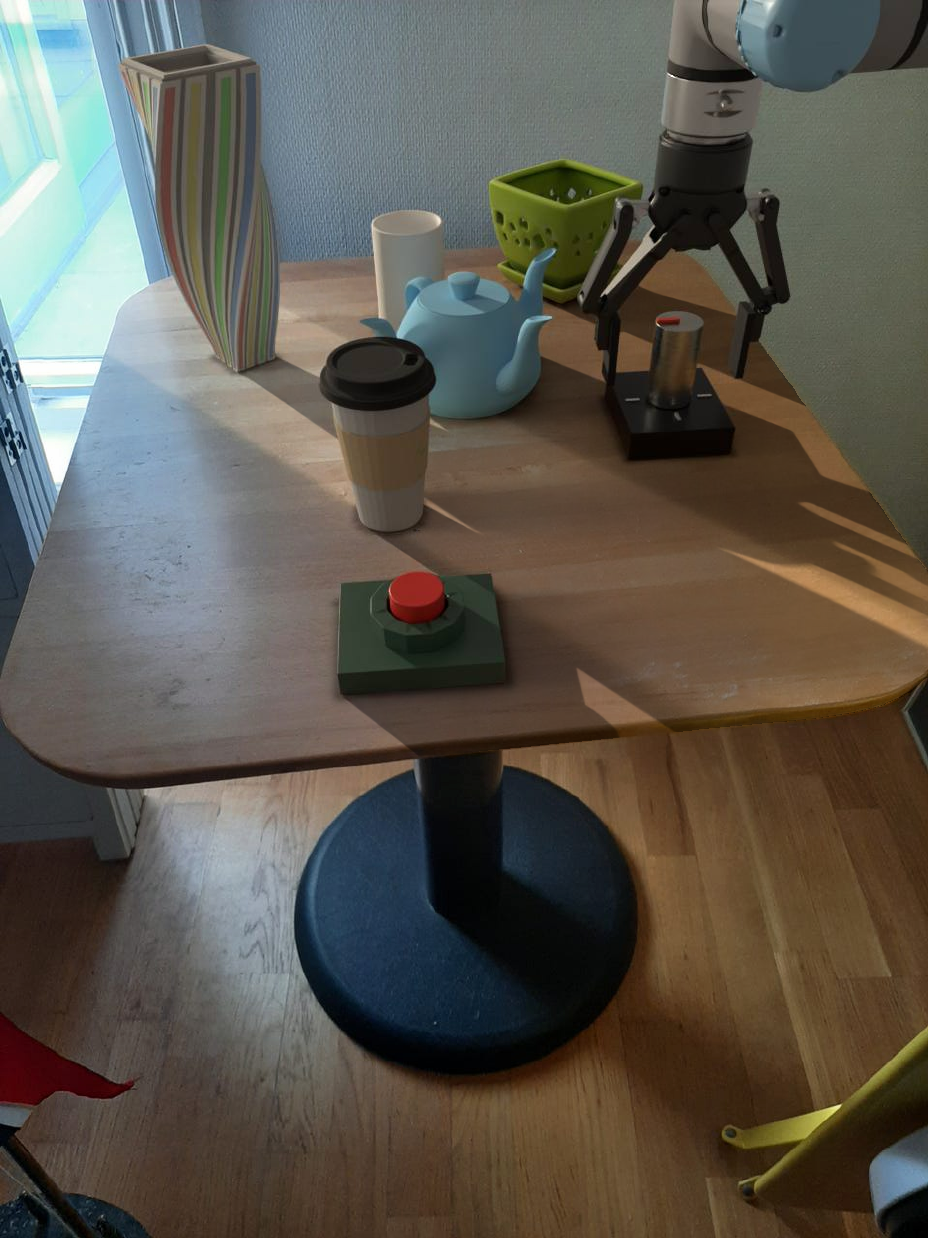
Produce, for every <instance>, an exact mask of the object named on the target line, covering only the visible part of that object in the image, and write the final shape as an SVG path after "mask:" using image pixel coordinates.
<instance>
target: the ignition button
mask: <svg viewBox="0 0 928 1238" xmlns="http://www.w3.org/2000/svg"><path fill="white" fill-rule="evenodd" d="M430 573H431V572H427V573H426V572H425V571H409V572H406V573H402V574H403V575H402V574H400V575H401V576H400V575H398V576H399V577H398V576H396V577H397V578H396V577H395V578H396V579H395V580H394V581H393V582H392V583H391V585H390V588H389V597H390V607H391V612H392V613H393V615H394V616H395V617H396V618H397V619H398V620H400V621H402V622H405V623H408V624H418V623H428V622H430V621H432V620H435V619H436V618H438V617H439V616H440V615H441V613H442V612H443V610H444V606H445V603H444V587H443V584H442V582H441V580H440V579H439V578H437V577H436V576H435V575H436V574H435V575H432V574H433V573H431V574H430Z"/></svg>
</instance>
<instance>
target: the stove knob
mask: <svg viewBox="0 0 928 1238" xmlns="http://www.w3.org/2000/svg"><path fill="white" fill-rule="evenodd" d="M704 323H705V322H704V320H703V318H701V317H700V316H699V315H697V314H695V313H692V312H688V311H682V310H681V311H680V310H674V311H673V310H672V311H665V312H663V313H660V314H659V315H657V316H656V318H655V322H654V329H653V337H652V346H651V353H650V359H649V370H648V371H649V376H648V384H647V392H646V399H647V401H648V402H649V403H650V404H652V405H654V406H656V407H659V408H663V409H680V408H683V407H685V406H687V405H688V404H689V403H690V402H691V398H692V392H693V386H694V380H695V373H696V368H698V367H697V366H698V361H699V355H700V349H701V341H702V336H703V329H704Z"/></svg>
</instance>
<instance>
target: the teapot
mask: <svg viewBox="0 0 928 1238" xmlns="http://www.w3.org/2000/svg"><path fill="white" fill-rule="evenodd" d="M555 252H556V249H555V248H551V249H548V250H545V251H544V252H542V253H540V254H539V255H538V256H537V257H535V259H534V260H533V261H532V262H531V264H530V266H529V268H528V270H527V273H526V276H525V280H524V285H523V287H522V289H521V293H520V296H519V299H518V300H517V299H516V298H515V297H514V296H513V294H512V293H511V291H510V290H509V289H507V288H506V287H505V286H504V285H502V284H500V283H499V282H497V281H493V280H490V279H486V278H481V276H480V275H479V274H477V273H476V272H471V271H457V272H454V273H451V274H449V275H448V277H447V279H446V278H445V280H442V281H439V282H436V283H434V282H433V281H432V280H431V279H429V278H427V277H417V278H415V279H412V280H411V281H409V282H408V284H407V285H406V288H405V302H406V308H407V313H406V315H405V317H404V319H403V321H402V323H401V325H400V327H399V329H398V332H397V334H396V333H395V331H394V329H393V327H392V326H391V324H390V323H389V322H388V321H386V320H385V319H382V318H379V317H368V318H363V319H360V320H359V323H360V324H362V325H364V326H366V327H368V328H370V329H371V330H372V331H373V332H374V334H375V337H394V338H400V339H404V340H407V341H410V342H412V343H414V344H416V345H418V346H419V347H420V348H421V349H422V350H423V352H424V354H425V357H426V358H427V359H428V360H429V361H430V362H431V363H432V365H433V367H434V373H435V375H436V384H435V387H434V388H433V390H432V391H431V392H430V393H429V406H430V415H434V416H437V417H441V418H447V419H454V420H455V419H456V420H470V419H471V420H472V419H481V418H486V417H492V416H495V415H498V414H501V413H504V412H506V411H508V410H510V409H512V408H513V407H515V406H517V404H519V403H520V402H521V401H522V400H523V399H525V397H527V395H528V394H530V392H532V390H533V389H534V388H535V386H536V385H537V383H538V381H539V379H540V376H541V371H542V365H541V364H542V363H541V361H542V360H541V353H540V347H539V338H540V337H539V336H540V332H541V329H542V328H543V326H544V325H545V324H547V323H548V322H549V321H551V320H552V319H553V316H551V315H544V299H543V298H544V296H543V292H542V287H543V277H544V272H545V270H546V267H547V265H548V263H549V262H550V260H551V258H552V257H553V256H554V254H555Z"/></svg>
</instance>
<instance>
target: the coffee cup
mask: <svg viewBox="0 0 928 1238" xmlns="http://www.w3.org/2000/svg"><path fill="white" fill-rule="evenodd" d="M435 384H436V375H435V373H434V367H433V365H432V363H431V362H430V361H429V360H428V359H427V358H426V357H425V354H424V352H423V350H422V349H421V348H420V347H419V346H418V345H416V344H414V343H412V342H410V341H407V340H404V339H400V338H394V337H377V336H371V337H370V336H368V337H363V338H357V339H353V340H350V341H348V342H345V343H343V344H340V345H339V346H337V347H336V348H334V349H333V350H332V351H330V353H329V354H328V356H327V358H326V361H325V365H324V366H323V367H322V369H321V371H320V373H319V383H318V388H319V392H320V393H321V396H323V397H324V398H325V399H326V400H327V401H329V402H330V403H331V407H332V412H333V414H332V415H333V416H332V419H333V425H334V427H335V428H334V429H335V432H336V435H337V436H336V437H337V441H338V444H339V448H340V452H341V456H342V460H343V465H344V468H345V473H346V476H347V478H348V479H349V482H350V486H351V489H352V494H353V498H354V502H355V505H356V510H357V514H358V518H359V520H360V522H361V524H363V526H365V527H367V528H368V529H371V530H374V531H378V532H385V533H387V532H389V533H391V532H399V531H400V532H401V531H404V530H407V529H410V528H412V527H413V526H415V525H416V524H417V523H418V522H419V521H420V520H421V518H422V516H423V514H424V513H423V512H424V502H425V500H424V499H425V484H426V483H425V482H426V472H427V470H428V461H429V444H430V443H429V442H430V426H431V423H430V422H431V414H430V406H429V393H430V392H431V391H432V390H433V388H434V387H435Z"/></svg>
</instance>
